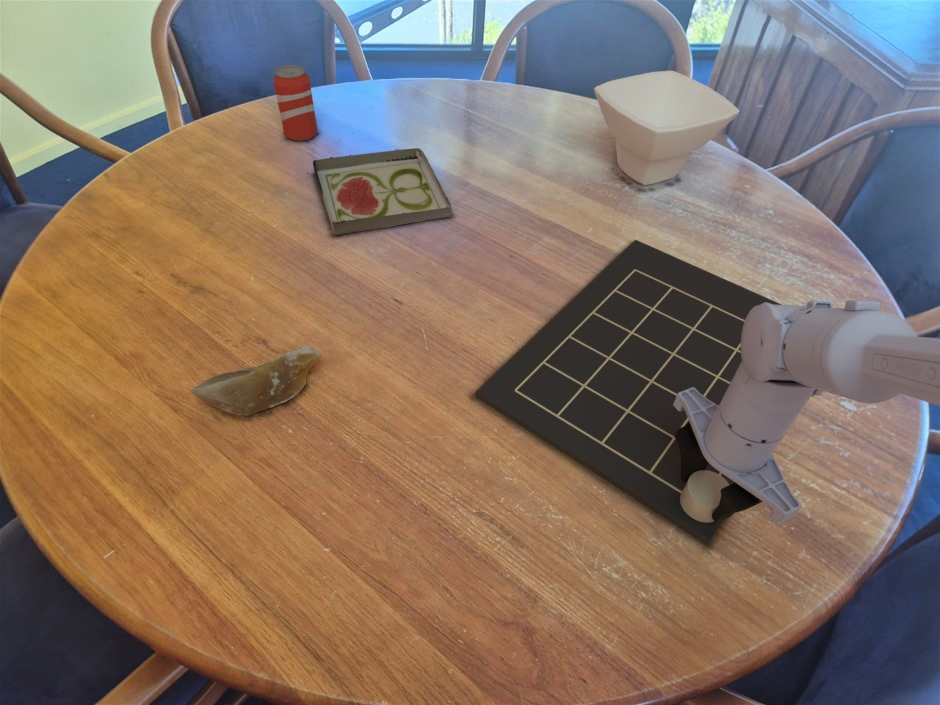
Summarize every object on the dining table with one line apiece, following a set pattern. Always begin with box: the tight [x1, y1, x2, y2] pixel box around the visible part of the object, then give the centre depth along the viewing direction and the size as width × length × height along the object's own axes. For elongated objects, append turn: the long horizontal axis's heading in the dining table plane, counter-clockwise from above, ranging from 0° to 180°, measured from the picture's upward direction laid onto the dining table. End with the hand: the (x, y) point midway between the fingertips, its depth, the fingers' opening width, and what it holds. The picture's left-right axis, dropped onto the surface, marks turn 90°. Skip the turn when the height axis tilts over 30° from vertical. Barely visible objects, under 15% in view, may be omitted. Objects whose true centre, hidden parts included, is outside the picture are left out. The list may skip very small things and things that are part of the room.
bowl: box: [593, 70, 740, 186], centre depth 106 cm, size 19×19×14 cm
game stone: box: [680, 470, 729, 523], centre depth 63 cm, size 4×4×3 cm
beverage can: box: [273, 64, 318, 142], centre depth 113 cm, size 6×6×12 cm
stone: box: [190, 345, 322, 417], centre depth 72 cm, size 7×6×15 cm
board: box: [475, 239, 783, 546], centre depth 79 cm, size 40×30×1 cm
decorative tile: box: [312, 147, 452, 236], centre depth 104 cm, size 20×3×20 cm
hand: (705, 496), depth 64 cm, fingers closed on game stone, 4 cm apart
